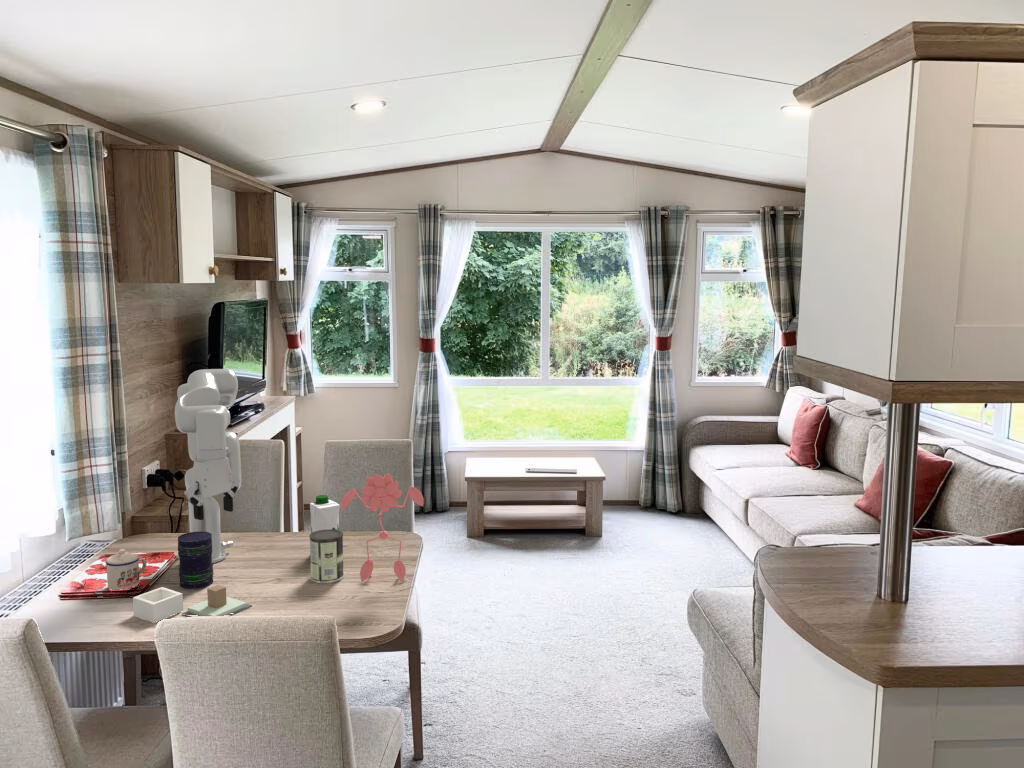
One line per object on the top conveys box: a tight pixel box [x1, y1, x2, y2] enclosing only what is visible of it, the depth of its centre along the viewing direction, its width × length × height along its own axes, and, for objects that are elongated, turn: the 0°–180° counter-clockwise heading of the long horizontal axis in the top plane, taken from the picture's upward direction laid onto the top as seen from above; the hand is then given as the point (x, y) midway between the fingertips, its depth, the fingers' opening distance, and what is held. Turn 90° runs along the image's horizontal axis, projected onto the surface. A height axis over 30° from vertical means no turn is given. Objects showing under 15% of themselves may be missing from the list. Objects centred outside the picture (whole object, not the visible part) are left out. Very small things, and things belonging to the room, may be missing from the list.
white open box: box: [132, 586, 184, 624], centre depth 215 cm, size 9×9×6 cm
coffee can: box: [309, 529, 345, 584], centre depth 243 cm, size 10×10×14 cm
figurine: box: [340, 473, 425, 594], centre depth 237 cm, size 15×26×35 cm, turn 91°
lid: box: [187, 584, 247, 616], centre depth 218 cm, size 11×11×6 cm
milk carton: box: [309, 494, 341, 534], centre depth 263 cm, size 9×9×20 cm
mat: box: [181, 603, 253, 616], centre depth 218 cm, size 14×12×1 cm
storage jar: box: [177, 531, 214, 591], centre depth 237 cm, size 10×10×15 cm
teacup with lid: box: [105, 548, 147, 590], centre depth 235 cm, size 12×9×12 cm
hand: (213, 515), depth 215 cm, fingers open, 9 cm apart
